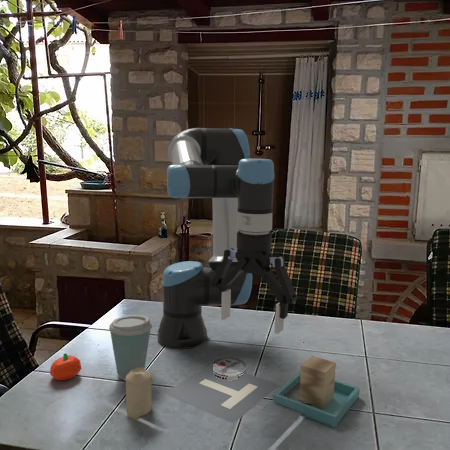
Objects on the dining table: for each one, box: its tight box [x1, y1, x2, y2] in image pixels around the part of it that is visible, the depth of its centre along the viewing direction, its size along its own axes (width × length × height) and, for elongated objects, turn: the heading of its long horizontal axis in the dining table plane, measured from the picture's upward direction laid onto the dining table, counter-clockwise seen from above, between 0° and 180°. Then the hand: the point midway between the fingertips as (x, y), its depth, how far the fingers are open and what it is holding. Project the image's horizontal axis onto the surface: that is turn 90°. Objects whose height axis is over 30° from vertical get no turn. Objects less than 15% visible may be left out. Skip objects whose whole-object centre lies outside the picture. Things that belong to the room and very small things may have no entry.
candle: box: [125, 368, 153, 420], centre depth 103 cm, size 6×6×10 cm
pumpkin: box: [49, 352, 82, 381], centre depth 118 cm, size 7×8×6 cm
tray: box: [272, 370, 361, 429], centre depth 109 cm, size 15×15×2 cm
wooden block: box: [298, 355, 337, 410], centre depth 109 cm, size 6×6×9 cm
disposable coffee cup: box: [108, 314, 153, 381], centre depth 119 cm, size 11×11×15 cm
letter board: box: [163, 361, 280, 424], centre depth 113 cm, size 20×20×1 cm
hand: (251, 324), depth 104 cm, fingers open, 13 cm apart
